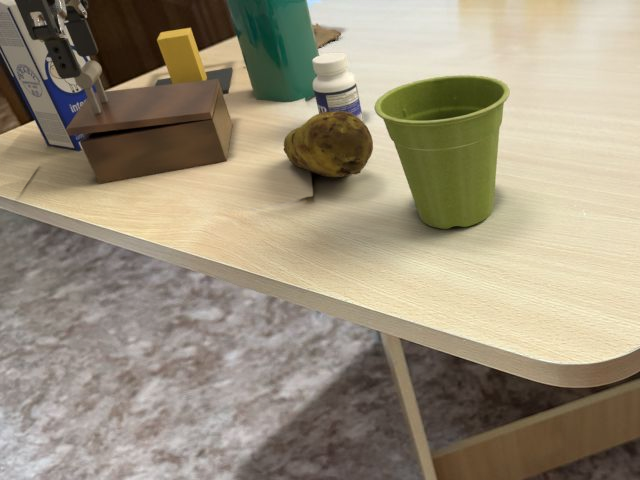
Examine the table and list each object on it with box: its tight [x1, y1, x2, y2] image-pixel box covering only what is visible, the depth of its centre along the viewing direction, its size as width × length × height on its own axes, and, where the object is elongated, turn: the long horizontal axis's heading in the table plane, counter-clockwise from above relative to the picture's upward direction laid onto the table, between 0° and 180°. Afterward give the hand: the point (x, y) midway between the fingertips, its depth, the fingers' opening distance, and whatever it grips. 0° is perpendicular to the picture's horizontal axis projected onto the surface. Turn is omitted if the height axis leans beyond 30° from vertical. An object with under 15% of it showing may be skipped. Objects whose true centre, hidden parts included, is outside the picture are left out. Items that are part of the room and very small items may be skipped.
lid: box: [66, 59, 220, 136], centre depth 80 cm, size 15×13×5 cm
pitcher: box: [226, 0, 320, 103], centre depth 93 cm, size 10×8×22 cm
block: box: [156, 27, 207, 84], centre depth 105 cm, size 4×4×8 cm
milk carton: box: [0, 0, 97, 152], centre depth 87 cm, size 7×7×20 cm
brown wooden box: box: [80, 86, 234, 185], centre depth 84 cm, size 15×13×6 cm
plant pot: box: [373, 74, 511, 230], centre depth 63 cm, size 12×12×11 cm
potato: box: [283, 111, 374, 178], centre depth 73 cm, size 8×13×8 cm, turn 24°
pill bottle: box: [312, 52, 366, 125], centre depth 84 cm, size 5×5×9 cm
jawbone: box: [312, 22, 342, 49], centre depth 118 cm, size 9×20×2 cm, turn 161°
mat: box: [154, 67, 234, 95], centre depth 108 cm, size 12×12×1 cm
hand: (80, 65), depth 77 cm, fingers open, 8 cm apart
